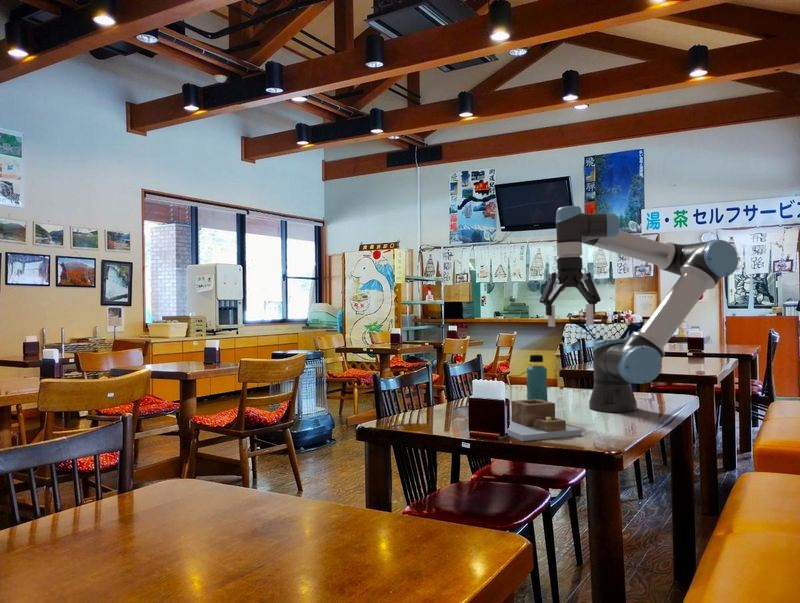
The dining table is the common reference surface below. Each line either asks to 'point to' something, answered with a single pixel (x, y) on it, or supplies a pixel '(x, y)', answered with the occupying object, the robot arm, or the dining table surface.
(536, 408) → the stepped wooden block
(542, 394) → the beverage bottle
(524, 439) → the post board
